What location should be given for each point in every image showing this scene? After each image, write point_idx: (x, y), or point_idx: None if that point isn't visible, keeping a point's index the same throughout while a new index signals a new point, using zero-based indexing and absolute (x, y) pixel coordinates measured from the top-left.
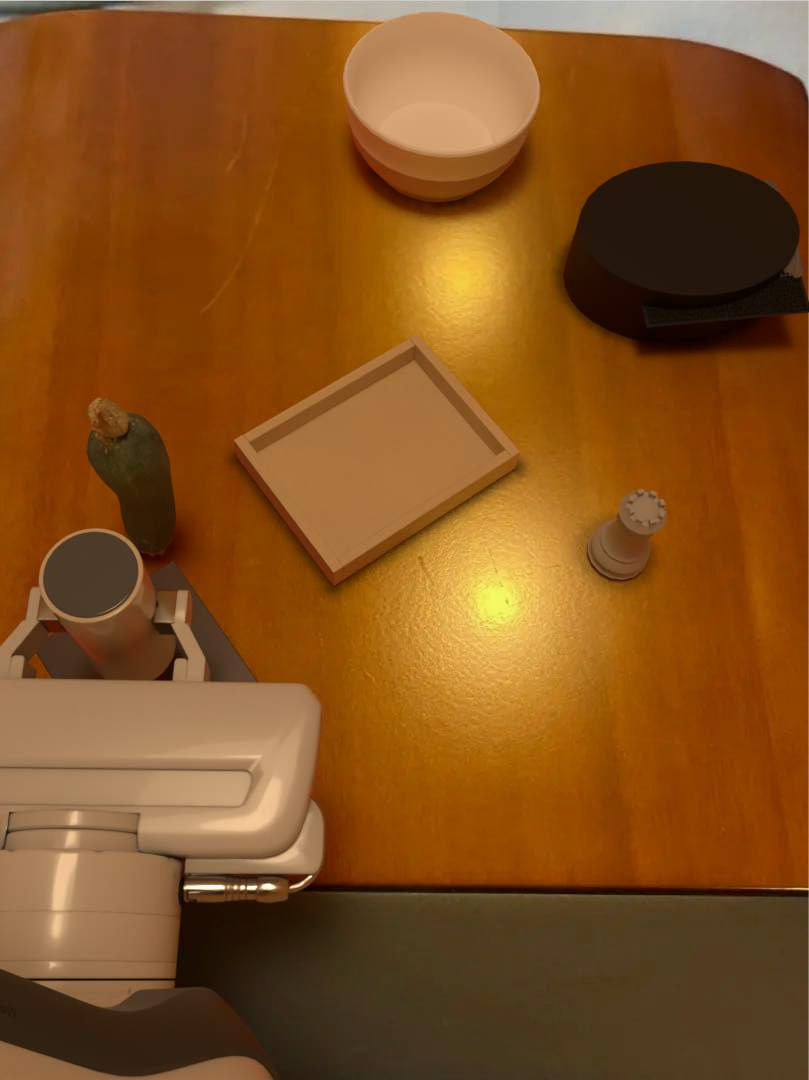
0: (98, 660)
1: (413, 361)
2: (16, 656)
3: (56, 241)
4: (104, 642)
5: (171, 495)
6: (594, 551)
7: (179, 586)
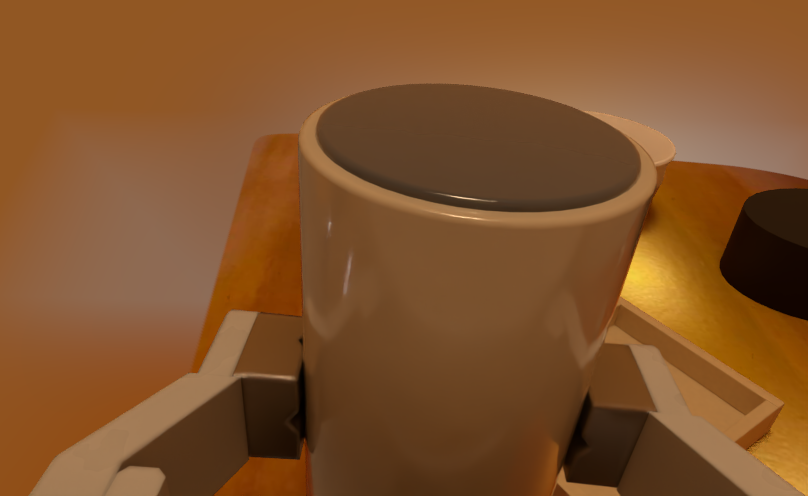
0: None
1: (614, 325)
2: (136, 470)
3: (270, 232)
4: (479, 422)
5: None
6: None
7: None
